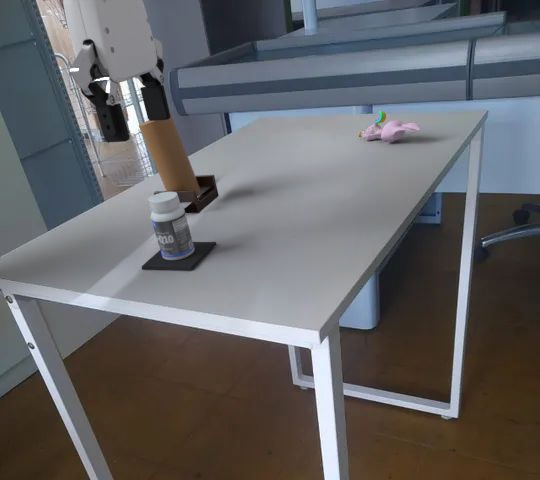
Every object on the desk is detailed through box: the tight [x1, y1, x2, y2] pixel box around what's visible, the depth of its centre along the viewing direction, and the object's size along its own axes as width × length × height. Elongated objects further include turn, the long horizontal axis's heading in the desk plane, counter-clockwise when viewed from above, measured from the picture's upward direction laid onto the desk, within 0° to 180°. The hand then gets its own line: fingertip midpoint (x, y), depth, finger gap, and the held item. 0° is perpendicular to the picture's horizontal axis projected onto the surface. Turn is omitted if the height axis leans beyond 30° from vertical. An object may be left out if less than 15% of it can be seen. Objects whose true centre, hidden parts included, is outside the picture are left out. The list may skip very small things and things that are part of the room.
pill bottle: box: [148, 192, 194, 261], centre depth 75 cm, size 5×5×8 cm
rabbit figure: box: [357, 110, 422, 144], centre depth 105 cm, size 6×6×15 cm
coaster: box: [141, 241, 217, 272], centre depth 78 cm, size 8×8×1 cm
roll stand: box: [153, 174, 219, 214], centre depth 95 cm, size 8×8×4 cm
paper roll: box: [138, 112, 203, 200], centre depth 92 cm, size 14×6×6 cm
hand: (139, 129), depth 68 cm, fingers open, 9 cm apart
